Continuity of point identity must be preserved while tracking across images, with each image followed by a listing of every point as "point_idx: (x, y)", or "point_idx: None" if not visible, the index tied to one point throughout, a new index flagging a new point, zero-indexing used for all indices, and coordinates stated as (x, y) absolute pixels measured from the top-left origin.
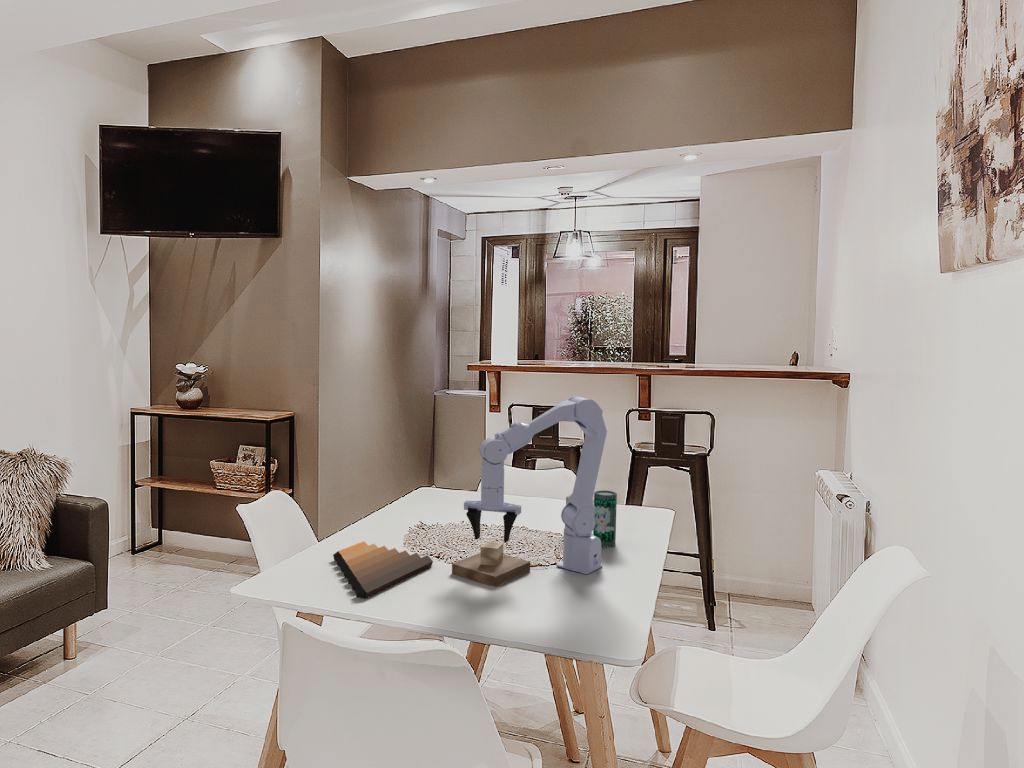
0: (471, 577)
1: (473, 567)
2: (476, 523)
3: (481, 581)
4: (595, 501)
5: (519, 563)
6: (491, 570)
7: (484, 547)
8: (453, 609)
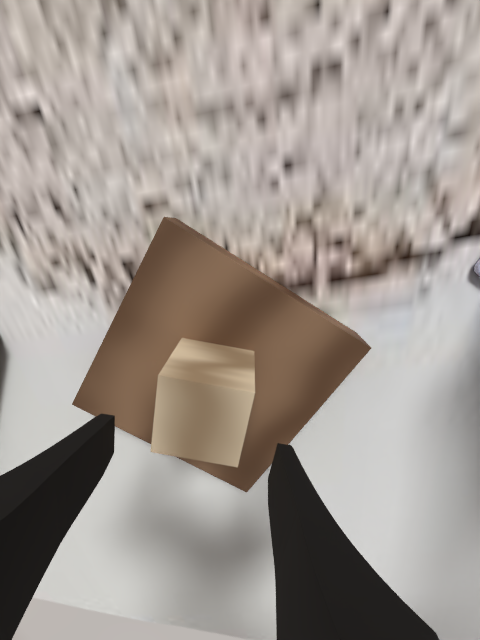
0: None
1: None
2: (43, 560)
3: None
4: None
5: (324, 372)
6: None
7: (171, 454)
8: (173, 571)
